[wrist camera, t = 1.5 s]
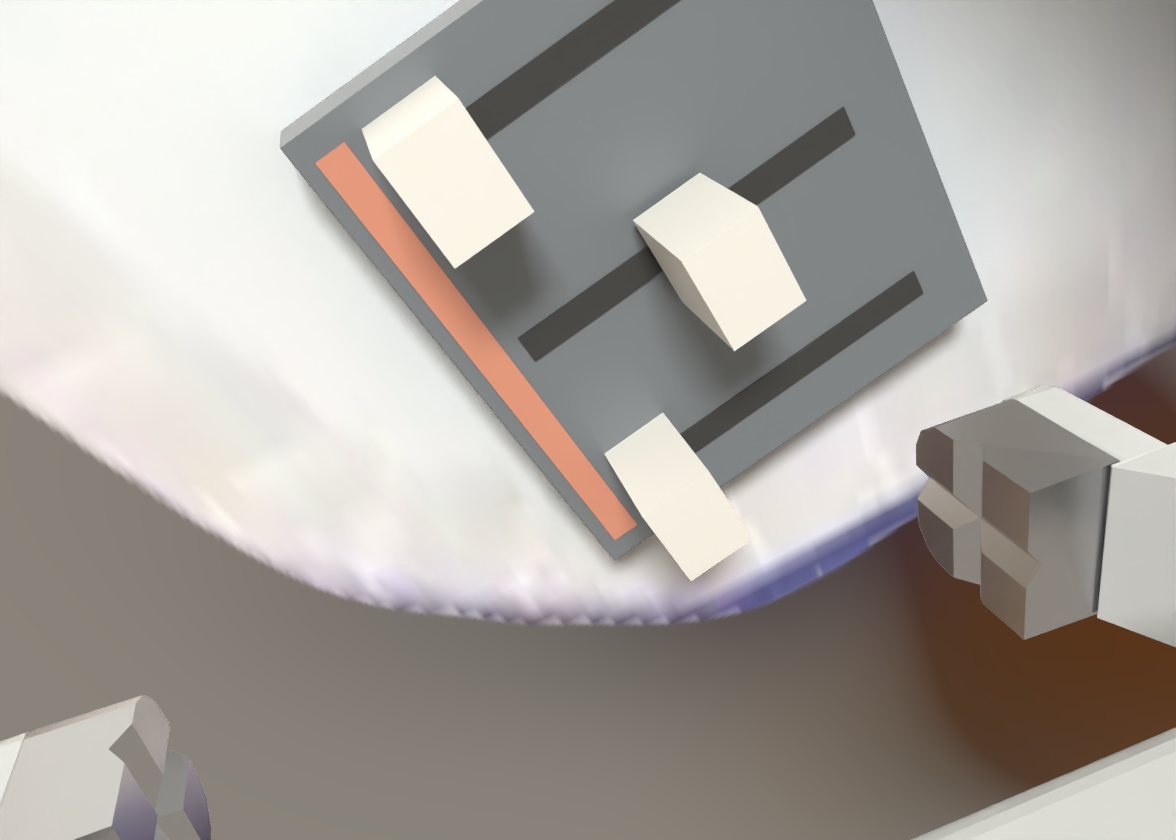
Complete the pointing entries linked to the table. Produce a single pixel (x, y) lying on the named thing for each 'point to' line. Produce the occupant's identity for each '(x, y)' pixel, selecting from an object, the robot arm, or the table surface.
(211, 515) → the table surface
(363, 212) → the breaker panel
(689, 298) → the handle
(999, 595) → the robot arm
